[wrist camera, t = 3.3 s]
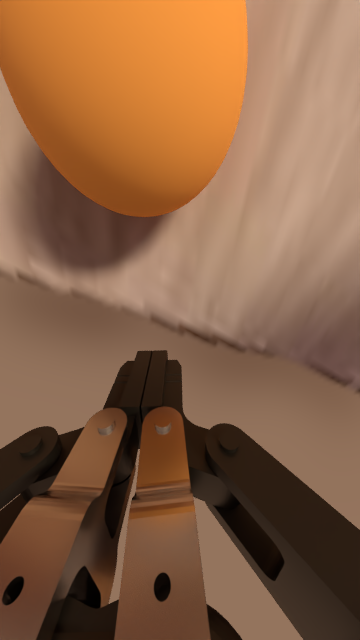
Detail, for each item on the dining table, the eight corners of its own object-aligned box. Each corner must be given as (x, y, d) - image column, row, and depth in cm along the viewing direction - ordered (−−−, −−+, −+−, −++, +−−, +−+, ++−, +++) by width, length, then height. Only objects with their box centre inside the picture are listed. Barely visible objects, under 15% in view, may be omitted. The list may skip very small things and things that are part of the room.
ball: (226, 31, 7) (411, -775, 1) (216, 220, 9) (268, 201, 4) (59, 36, 7) (-408, -729, 1) (93, 223, 9) (-27, 208, 4)
